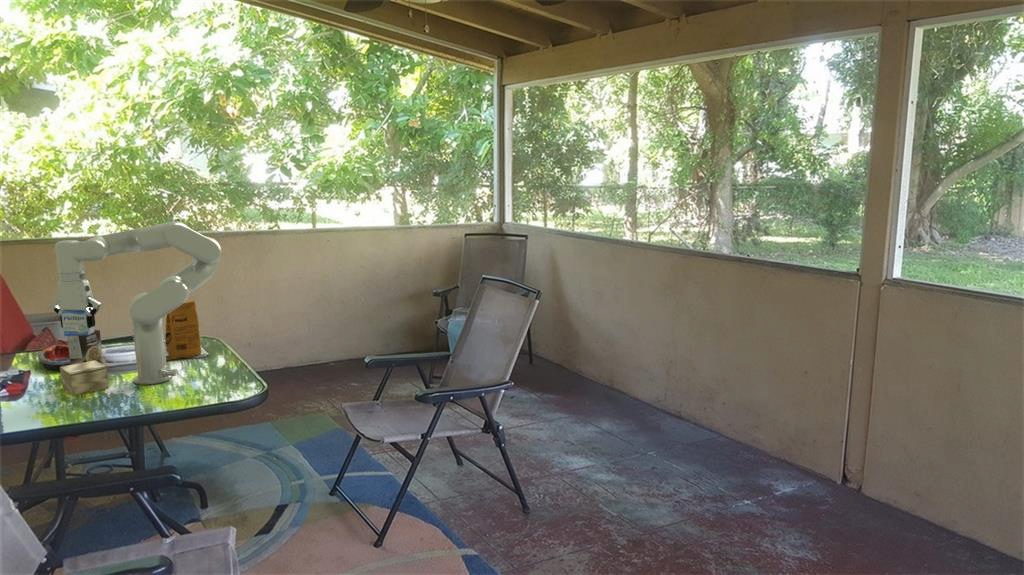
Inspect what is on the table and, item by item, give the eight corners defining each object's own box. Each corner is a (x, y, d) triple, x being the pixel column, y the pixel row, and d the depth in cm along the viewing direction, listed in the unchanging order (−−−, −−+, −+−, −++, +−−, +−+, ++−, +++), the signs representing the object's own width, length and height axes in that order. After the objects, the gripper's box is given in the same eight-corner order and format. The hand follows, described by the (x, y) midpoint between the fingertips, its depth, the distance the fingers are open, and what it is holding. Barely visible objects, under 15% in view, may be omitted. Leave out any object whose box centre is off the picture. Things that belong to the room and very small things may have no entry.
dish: (41, 376, 259) (39, 363, 258) (37, 357, 284) (36, 345, 283) (89, 369, 268) (88, 356, 267) (82, 351, 293) (81, 340, 292)
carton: (97, 380, 252) (95, 362, 251) (108, 388, 244) (106, 368, 243) (62, 388, 245) (60, 368, 243) (73, 395, 236) (70, 375, 235)
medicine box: (63, 336, 238) (60, 311, 236) (69, 333, 242) (66, 308, 241) (88, 335, 239) (85, 310, 238) (94, 332, 244) (91, 307, 242)
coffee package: (165, 355, 286) (160, 302, 282) (198, 350, 293) (193, 298, 289) (170, 360, 278) (164, 306, 274) (203, 355, 285) (198, 302, 281)
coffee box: (86, 378, 255) (81, 335, 252) (71, 377, 257) (65, 334, 254) (105, 371, 264) (100, 329, 261) (90, 370, 265) (85, 328, 262)
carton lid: (95, 361, 251) (95, 360, 251) (106, 367, 243) (106, 365, 243) (59, 368, 243) (59, 366, 243) (70, 374, 235) (69, 372, 235)
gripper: (104, 275, 240) (109, 324, 243) (55, 275, 242) (61, 324, 245) (89, 279, 233) (95, 329, 236) (39, 278, 234) (46, 329, 237)
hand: (78, 326), depth 240 cm, fingers closed on medicine box, 8 cm apart
